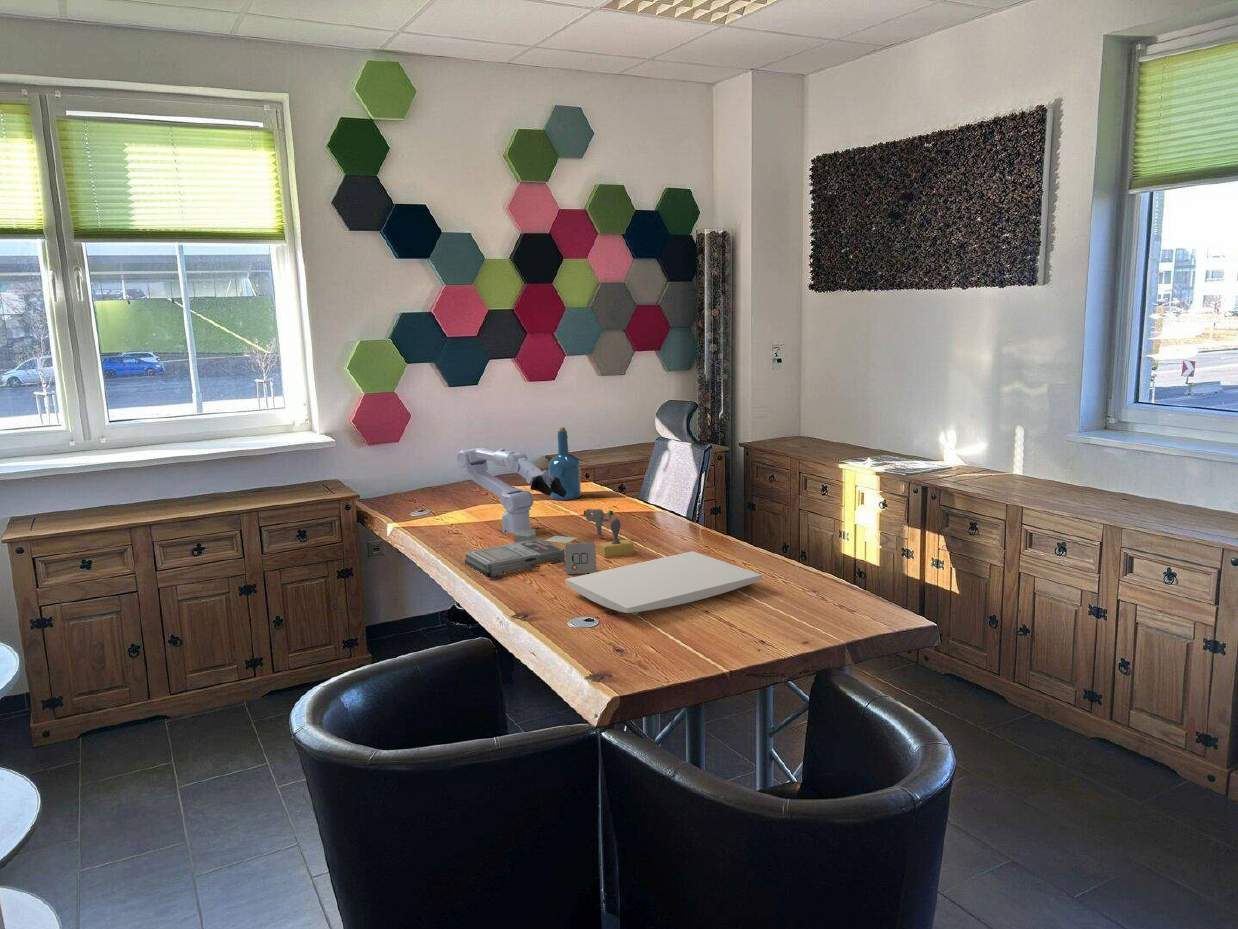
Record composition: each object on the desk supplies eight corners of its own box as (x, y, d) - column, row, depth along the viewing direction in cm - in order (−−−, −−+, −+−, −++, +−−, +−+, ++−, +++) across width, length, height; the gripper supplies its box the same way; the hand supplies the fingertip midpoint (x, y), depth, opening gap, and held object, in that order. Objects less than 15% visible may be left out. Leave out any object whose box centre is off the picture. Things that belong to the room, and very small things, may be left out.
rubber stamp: (604, 558, 297) (603, 521, 295) (599, 553, 303) (597, 518, 301) (633, 554, 301) (632, 518, 298) (627, 550, 306) (626, 514, 304)
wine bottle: (543, 499, 390) (539, 428, 385) (562, 493, 401) (559, 424, 395) (569, 502, 382) (565, 430, 377) (588, 496, 393) (585, 426, 388)
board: (627, 626, 235) (627, 608, 234) (566, 595, 262) (565, 579, 261) (762, 591, 259) (762, 574, 258) (693, 565, 286) (692, 551, 285)
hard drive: (464, 565, 296) (464, 552, 296) (540, 551, 310) (539, 538, 309) (487, 578, 281) (486, 564, 280) (566, 563, 294) (565, 549, 294)
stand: (544, 544, 316) (544, 540, 316) (555, 540, 322) (555, 535, 322) (567, 547, 312) (567, 543, 312) (577, 542, 318) (577, 537, 318)
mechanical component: (613, 539, 320) (611, 511, 318) (584, 538, 322) (583, 510, 320) (614, 537, 323) (613, 509, 321) (586, 536, 325) (585, 509, 323)
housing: (514, 545, 311) (513, 530, 310) (521, 542, 315) (520, 528, 314) (529, 546, 308) (528, 532, 308) (536, 543, 312) (535, 529, 311)
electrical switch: (565, 575, 280) (564, 544, 279) (566, 571, 285) (565, 542, 285) (596, 574, 280) (595, 543, 279) (596, 570, 285) (595, 541, 285)
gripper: (523, 462, 314) (549, 482, 307) (550, 466, 326) (576, 485, 318) (514, 480, 316) (540, 500, 308) (542, 483, 327) (567, 502, 320)
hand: (557, 493), depth 313 cm, fingers open, 7 cm apart
